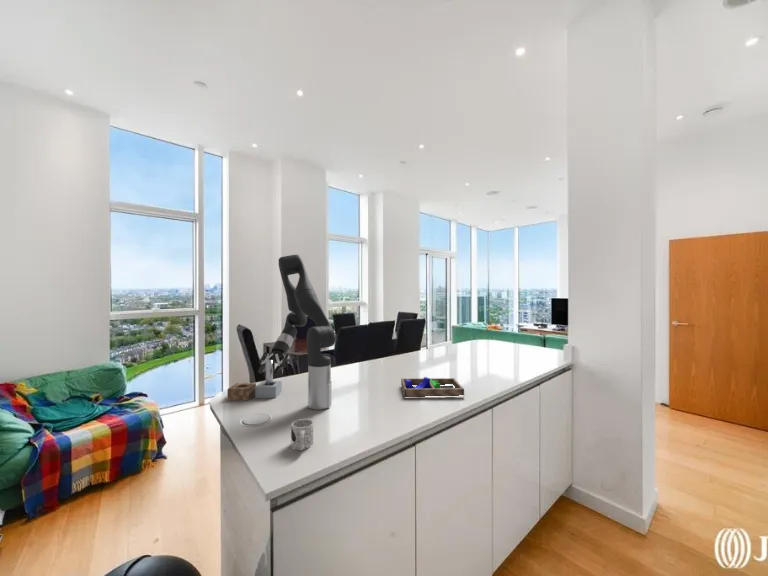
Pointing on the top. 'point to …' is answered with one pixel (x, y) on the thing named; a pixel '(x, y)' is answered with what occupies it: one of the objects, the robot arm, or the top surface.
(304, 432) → the mug
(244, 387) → the wooden square frame
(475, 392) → the top surface
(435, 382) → the pipe clamp
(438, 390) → the organiser frame
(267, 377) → the steel axle
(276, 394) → the socket block
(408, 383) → the cable clip
